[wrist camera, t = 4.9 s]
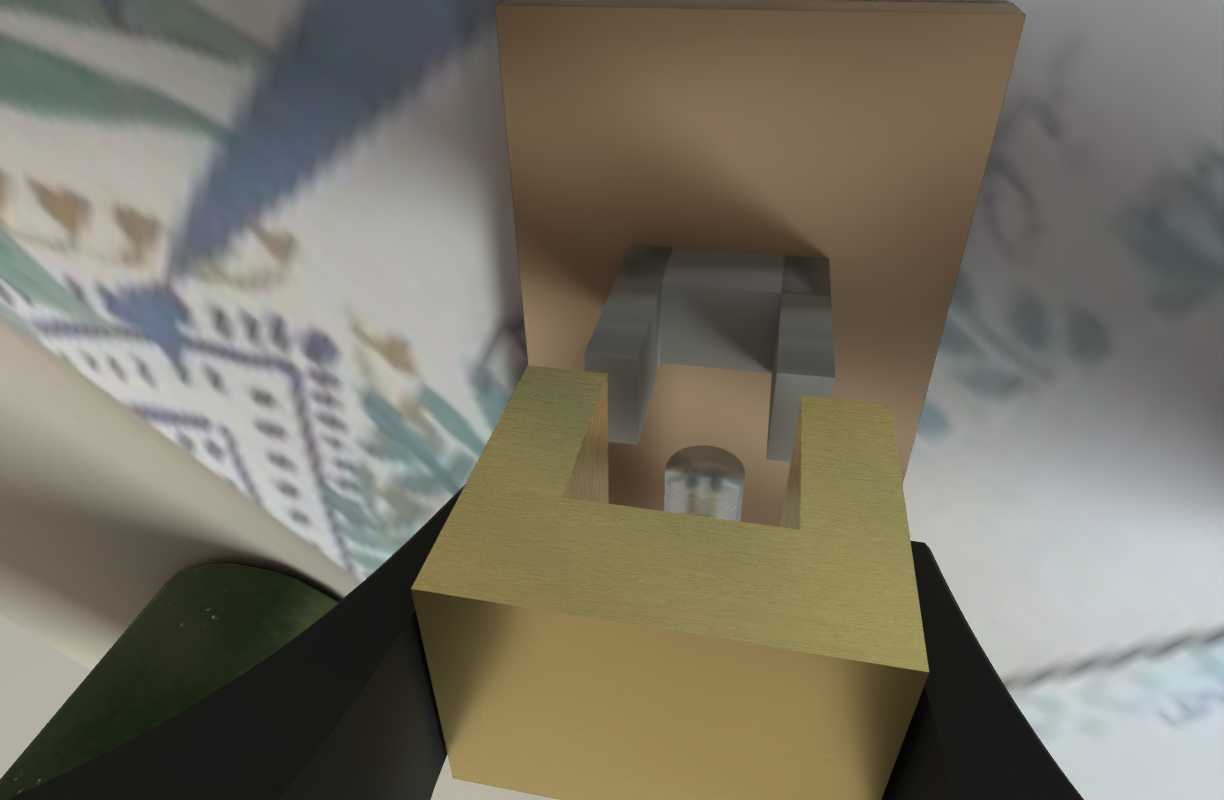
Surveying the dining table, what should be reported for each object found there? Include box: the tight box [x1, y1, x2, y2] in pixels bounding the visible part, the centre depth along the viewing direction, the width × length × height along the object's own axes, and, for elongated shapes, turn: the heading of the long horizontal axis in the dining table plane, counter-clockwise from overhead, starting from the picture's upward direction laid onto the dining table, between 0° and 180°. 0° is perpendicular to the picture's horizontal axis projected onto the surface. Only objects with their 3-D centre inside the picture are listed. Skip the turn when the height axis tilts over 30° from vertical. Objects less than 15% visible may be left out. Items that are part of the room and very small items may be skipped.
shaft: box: [664, 445, 745, 522], centre depth 23 cm, size 16×4×4 cm, turn 1°
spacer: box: [411, 365, 929, 800], centre depth 12 cm, size 4×6×5 cm
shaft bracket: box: [495, 0, 1026, 527], centre depth 21 cm, size 24×10×6 cm, turn 1°
